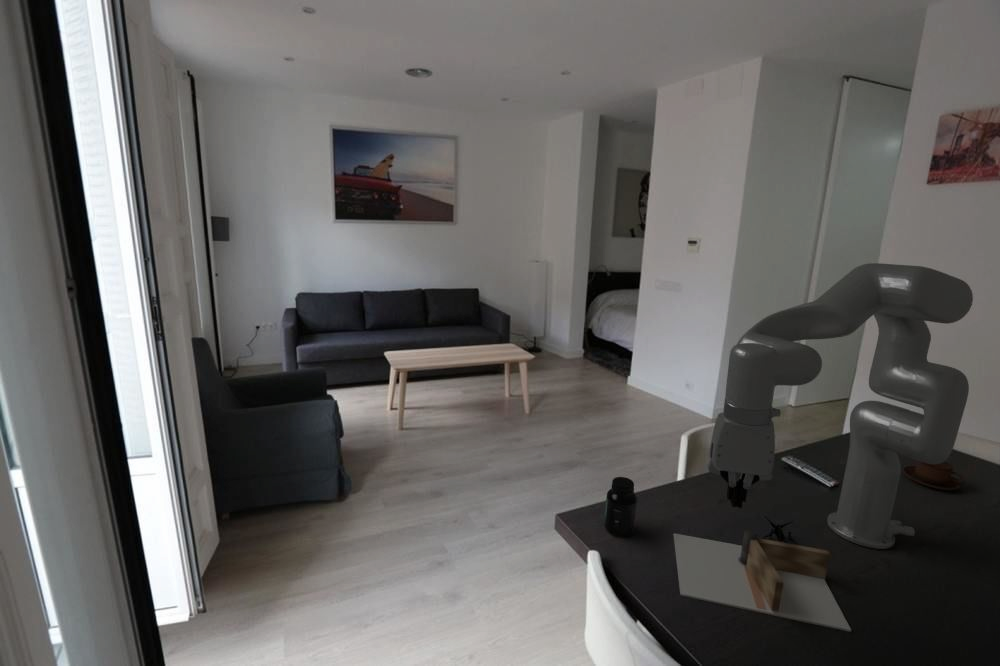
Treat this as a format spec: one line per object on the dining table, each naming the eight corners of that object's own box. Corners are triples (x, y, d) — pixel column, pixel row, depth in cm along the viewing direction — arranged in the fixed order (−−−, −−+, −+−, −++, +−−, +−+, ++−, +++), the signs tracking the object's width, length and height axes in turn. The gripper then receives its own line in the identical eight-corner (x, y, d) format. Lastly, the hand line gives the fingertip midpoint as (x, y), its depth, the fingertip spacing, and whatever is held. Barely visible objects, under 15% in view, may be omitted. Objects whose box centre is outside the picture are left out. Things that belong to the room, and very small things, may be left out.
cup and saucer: (953, 479, 134) (958, 460, 133) (965, 499, 124) (970, 478, 123) (899, 468, 141) (903, 449, 139) (906, 485, 131) (911, 465, 129)
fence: (821, 574, 96) (827, 544, 94) (825, 582, 93) (832, 552, 92) (738, 558, 100) (743, 529, 98) (740, 566, 97) (745, 536, 96)
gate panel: (746, 565, 97) (750, 539, 95) (752, 566, 96) (756, 540, 95) (771, 610, 85) (776, 582, 84) (778, 611, 85) (783, 582, 84)
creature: (802, 562, 101) (793, 534, 107) (808, 545, 98) (798, 517, 105) (762, 554, 103) (756, 527, 110) (767, 537, 101) (760, 510, 107)
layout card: (813, 560, 100) (814, 558, 100) (852, 632, 82) (852, 630, 82) (673, 534, 107) (673, 532, 107) (680, 595, 89) (680, 593, 89)
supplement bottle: (598, 529, 109) (602, 482, 106) (612, 516, 114) (616, 471, 111) (626, 542, 104) (630, 493, 102) (639, 528, 109) (644, 481, 107)
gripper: (787, 409, 86) (774, 498, 90) (699, 400, 90) (690, 487, 94) (800, 425, 79) (785, 522, 83) (704, 416, 83) (695, 508, 87)
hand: (735, 503), depth 88 cm, fingers closed
